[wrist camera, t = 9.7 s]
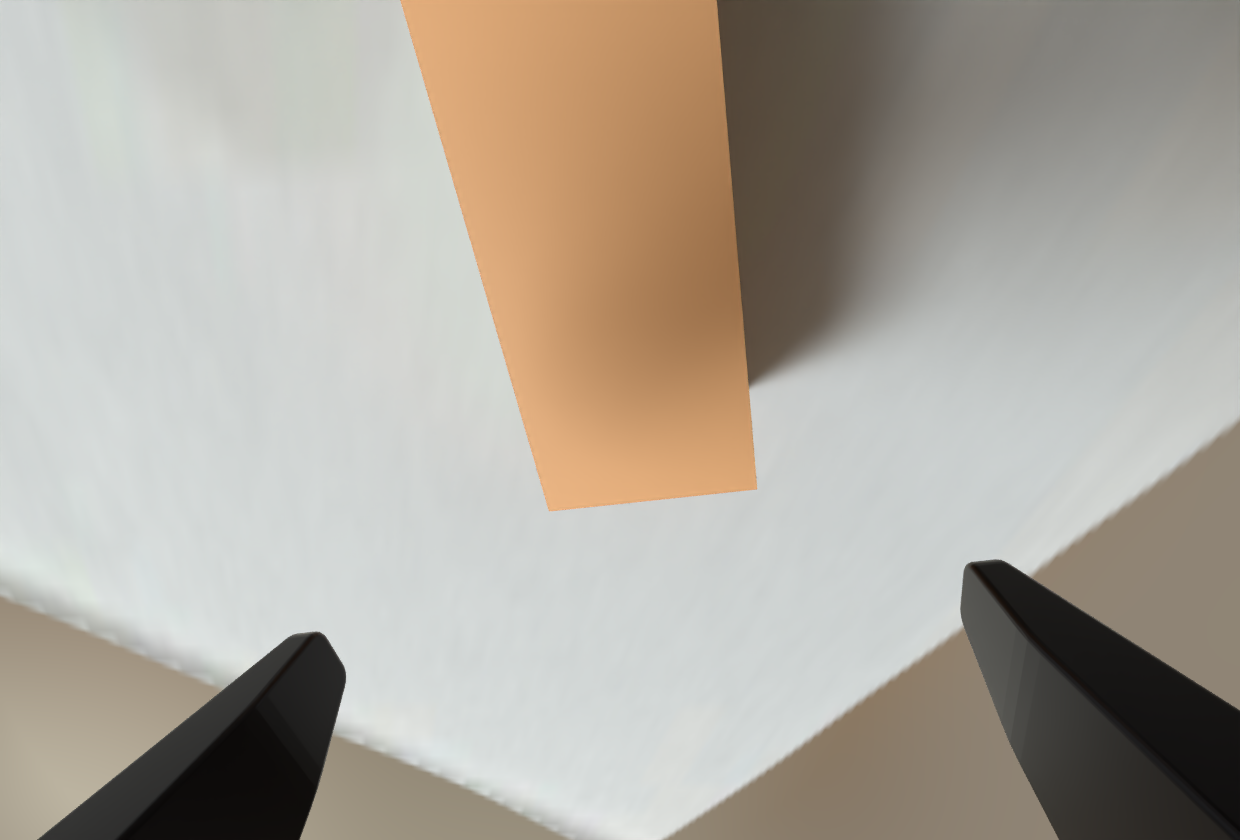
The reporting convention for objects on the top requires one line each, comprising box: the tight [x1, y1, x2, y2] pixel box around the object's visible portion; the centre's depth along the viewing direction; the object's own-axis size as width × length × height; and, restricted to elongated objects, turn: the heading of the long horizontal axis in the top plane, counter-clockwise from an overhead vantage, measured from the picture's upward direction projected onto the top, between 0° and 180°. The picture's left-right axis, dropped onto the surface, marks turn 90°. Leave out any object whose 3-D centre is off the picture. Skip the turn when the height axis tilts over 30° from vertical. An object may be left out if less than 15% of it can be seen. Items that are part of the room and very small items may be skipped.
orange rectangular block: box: [401, 0, 757, 511], centre depth 13 cm, size 4×10×4 cm, turn 10°
